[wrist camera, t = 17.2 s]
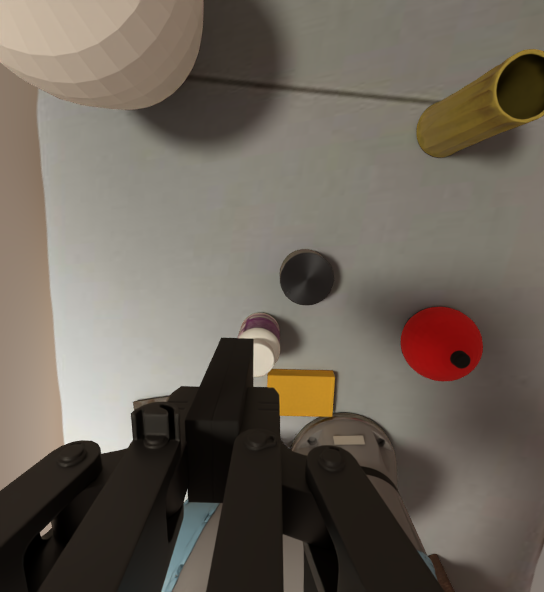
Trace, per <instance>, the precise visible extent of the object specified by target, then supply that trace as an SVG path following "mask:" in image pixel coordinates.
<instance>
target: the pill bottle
mask: <svg viewBox="0 0 544 592" xmlns="http://www.w3.org/2000/svg"><path fill="white" fill-rule="evenodd" d="M238 338H253V339H254V356H253V377H260V376H263V375H266V374H267V373H269V372H270V371H271V369H272V368H273V365H274V364H275V363H276V362H277V360H278V358H279V355H280V329H279V325H278V323H277V321H276V320H275V319H274V318H273V317H272V316H270V315H268V314H266V313H254V314H252V315H250V316H248V317H247V318H246V319H245V320H244V322H243V323H242V326H241V329H240V331H239V335H238Z"/></svg>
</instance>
